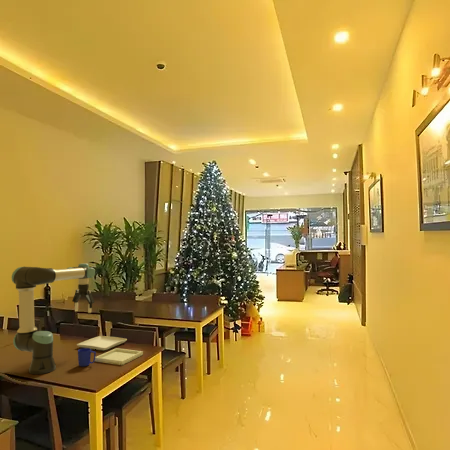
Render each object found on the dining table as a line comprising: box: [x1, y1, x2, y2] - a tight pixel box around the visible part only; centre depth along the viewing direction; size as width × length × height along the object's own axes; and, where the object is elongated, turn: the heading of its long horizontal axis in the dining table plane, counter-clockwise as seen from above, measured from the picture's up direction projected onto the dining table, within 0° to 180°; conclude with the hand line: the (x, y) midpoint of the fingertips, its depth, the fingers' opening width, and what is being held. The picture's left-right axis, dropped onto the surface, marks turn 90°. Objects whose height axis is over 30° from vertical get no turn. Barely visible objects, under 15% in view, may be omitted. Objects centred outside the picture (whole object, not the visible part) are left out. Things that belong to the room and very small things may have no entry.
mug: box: [77, 347, 97, 368], centre depth 241 cm, size 8×12×10 cm
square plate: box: [76, 335, 128, 351], centre depth 287 cm, size 27×27×4 cm
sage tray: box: [94, 347, 144, 366], centre depth 256 cm, size 23×23×2 cm
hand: (83, 311), depth 282 cm, fingers open, 13 cm apart
